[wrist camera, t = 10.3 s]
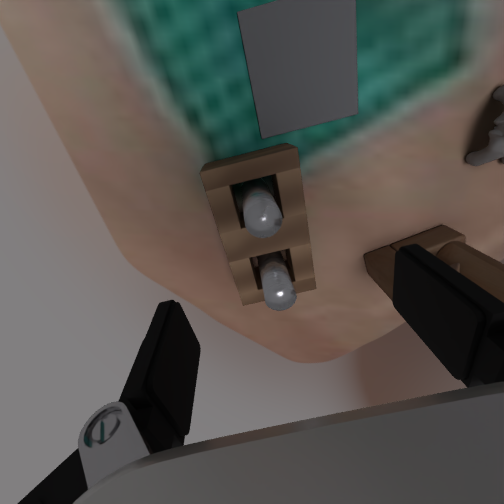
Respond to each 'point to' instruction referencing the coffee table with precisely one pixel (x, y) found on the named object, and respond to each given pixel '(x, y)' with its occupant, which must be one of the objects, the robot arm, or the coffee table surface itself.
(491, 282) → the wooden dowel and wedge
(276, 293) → the seated peg
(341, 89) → the mat
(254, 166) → the hole block
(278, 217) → the peg
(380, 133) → the coffee table surface
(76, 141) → the coffee table surface
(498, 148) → the gray elephant figurine
